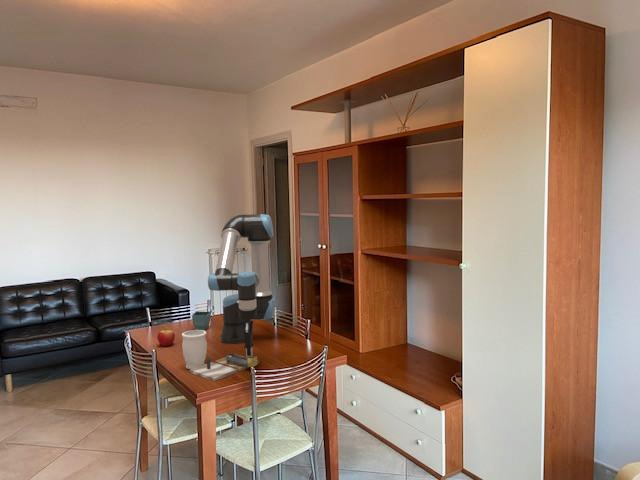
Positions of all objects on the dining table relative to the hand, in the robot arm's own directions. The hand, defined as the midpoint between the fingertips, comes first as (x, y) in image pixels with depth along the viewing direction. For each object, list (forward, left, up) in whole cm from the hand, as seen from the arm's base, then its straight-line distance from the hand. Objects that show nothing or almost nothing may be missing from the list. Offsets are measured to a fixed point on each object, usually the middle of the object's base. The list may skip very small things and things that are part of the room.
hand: (249, 361), depth 208 cm
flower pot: (-67, +28, -3) cm, 73 cm away
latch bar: (-2, -3, 0) cm, 4 cm away
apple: (-57, -2, -3) cm, 57 cm away
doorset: (-8, -6, -3) cm, 11 cm away
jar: (-20, -13, -3) cm, 24 cm away
